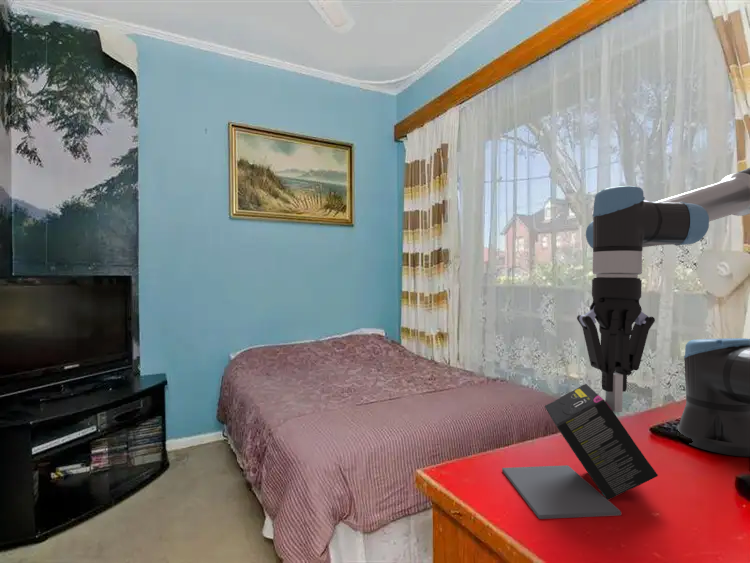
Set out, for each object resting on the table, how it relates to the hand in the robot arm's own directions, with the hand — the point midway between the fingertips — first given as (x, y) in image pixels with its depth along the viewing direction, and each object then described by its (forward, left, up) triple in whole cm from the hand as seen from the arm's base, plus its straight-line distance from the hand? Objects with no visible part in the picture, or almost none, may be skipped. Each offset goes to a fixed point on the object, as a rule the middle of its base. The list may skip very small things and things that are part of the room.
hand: (613, 409), depth 72 cm
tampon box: (-1, 0, -11) cm, 11 cm away
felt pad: (+11, +1, -14) cm, 18 cm away
